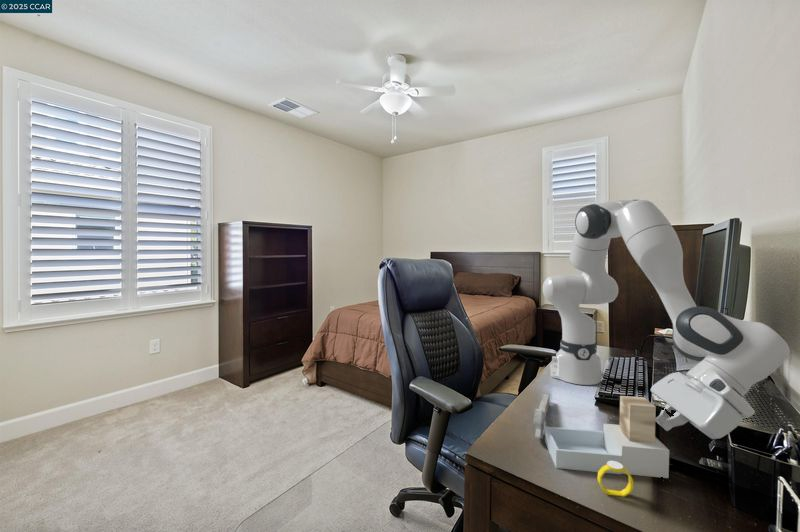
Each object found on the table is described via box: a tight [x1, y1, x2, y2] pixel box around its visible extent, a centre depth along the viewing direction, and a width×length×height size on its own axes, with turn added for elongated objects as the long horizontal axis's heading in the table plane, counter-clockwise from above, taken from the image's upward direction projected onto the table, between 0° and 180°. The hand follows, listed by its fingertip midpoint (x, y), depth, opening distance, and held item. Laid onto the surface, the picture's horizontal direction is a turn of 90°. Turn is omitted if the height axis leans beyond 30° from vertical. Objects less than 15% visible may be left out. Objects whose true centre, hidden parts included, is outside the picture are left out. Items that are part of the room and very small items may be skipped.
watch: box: [596, 461, 635, 498], centre depth 69 cm, size 6×3×6 cm, turn 78°
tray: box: [544, 426, 622, 475], centre depth 81 cm, size 11×13×4 cm
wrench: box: [533, 394, 550, 440], centre depth 98 cm, size 8×2×30 cm
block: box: [619, 395, 657, 443], centre depth 79 cm, size 5×5×8 cm
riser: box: [602, 423, 670, 479], centre depth 79 cm, size 10×9×6 cm
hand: (660, 425), depth 78 cm, fingers closed
